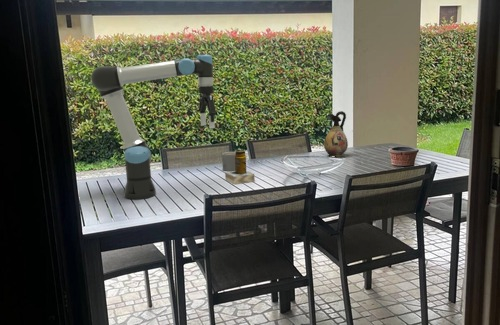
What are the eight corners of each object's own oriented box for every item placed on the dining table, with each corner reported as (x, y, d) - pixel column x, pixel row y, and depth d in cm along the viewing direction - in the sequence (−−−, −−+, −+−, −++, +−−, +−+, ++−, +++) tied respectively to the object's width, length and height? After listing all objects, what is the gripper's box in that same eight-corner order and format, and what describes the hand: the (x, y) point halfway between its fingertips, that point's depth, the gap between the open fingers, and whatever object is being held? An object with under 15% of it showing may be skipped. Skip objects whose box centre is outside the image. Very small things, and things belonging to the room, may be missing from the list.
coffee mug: (241, 170, 270) (240, 153, 268) (225, 172, 267) (224, 155, 265) (234, 166, 283) (233, 150, 281) (218, 167, 279) (218, 151, 277)
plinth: (233, 184, 239) (233, 176, 238) (225, 179, 250) (225, 172, 249) (254, 181, 244) (254, 173, 243) (245, 176, 254) (245, 169, 253)
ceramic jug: (329, 159, 294) (329, 113, 287) (320, 154, 308) (320, 110, 302) (353, 157, 297) (354, 111, 291) (344, 153, 312) (344, 109, 305)
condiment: (249, 173, 245) (248, 151, 242) (236, 175, 240) (235, 153, 238) (242, 170, 251) (241, 149, 248) (229, 173, 246) (228, 151, 244)
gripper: (221, 86, 223) (223, 129, 227) (204, 84, 245) (206, 123, 249) (207, 86, 220) (208, 130, 224) (191, 85, 242) (193, 124, 246)
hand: (207, 126), depth 237 cm, fingers open, 13 cm apart
